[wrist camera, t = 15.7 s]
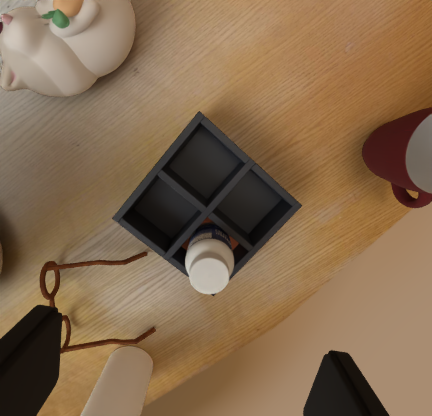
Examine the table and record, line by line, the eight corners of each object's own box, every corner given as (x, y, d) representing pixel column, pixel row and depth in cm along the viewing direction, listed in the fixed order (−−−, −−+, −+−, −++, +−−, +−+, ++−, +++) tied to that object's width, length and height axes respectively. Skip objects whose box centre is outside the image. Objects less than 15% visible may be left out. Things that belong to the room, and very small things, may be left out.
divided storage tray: (126, 208, 33) (111, 218, 28) (201, 116, 31) (199, 110, 26) (213, 276, 36) (213, 296, 31) (289, 197, 33) (302, 205, 28)
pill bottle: (236, 248, 34) (246, 287, 25) (201, 264, 34) (197, 309, 25) (219, 214, 33) (221, 241, 23) (183, 231, 33) (171, 265, 24)
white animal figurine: (102, -65, 19) (-61, 49, 19) (163, 47, 24) (36, 135, 24) (98, -44, 26) (-21, 40, 26) (146, 40, 31) (47, 108, 31)
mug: (419, 183, 33) (506, 198, 23) (361, 207, 34) (421, 232, 24) (400, 105, 31) (487, 86, 21) (337, 133, 31) (394, 127, 22)
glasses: (54, 254, 35) (28, 272, 30) (148, 250, 35) (137, 267, 30) (71, 334, 38) (50, 361, 33) (157, 330, 38) (148, 357, 33)
